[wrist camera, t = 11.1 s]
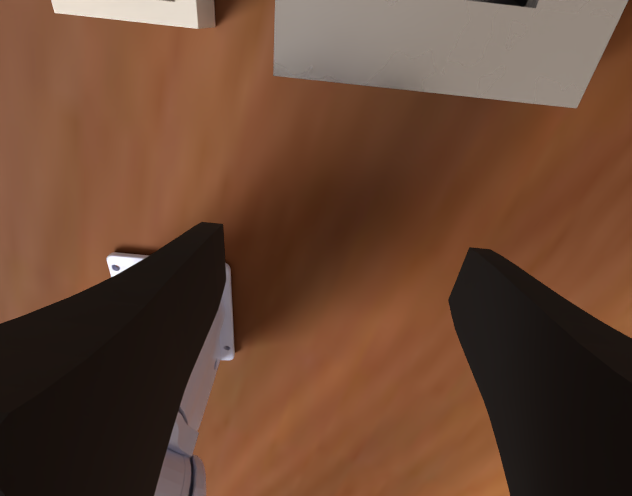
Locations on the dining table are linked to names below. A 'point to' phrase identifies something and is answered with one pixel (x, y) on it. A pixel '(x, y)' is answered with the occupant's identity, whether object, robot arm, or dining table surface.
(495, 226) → the dining table surface
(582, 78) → the grey square frame block
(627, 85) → the dining table surface
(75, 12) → the holder
